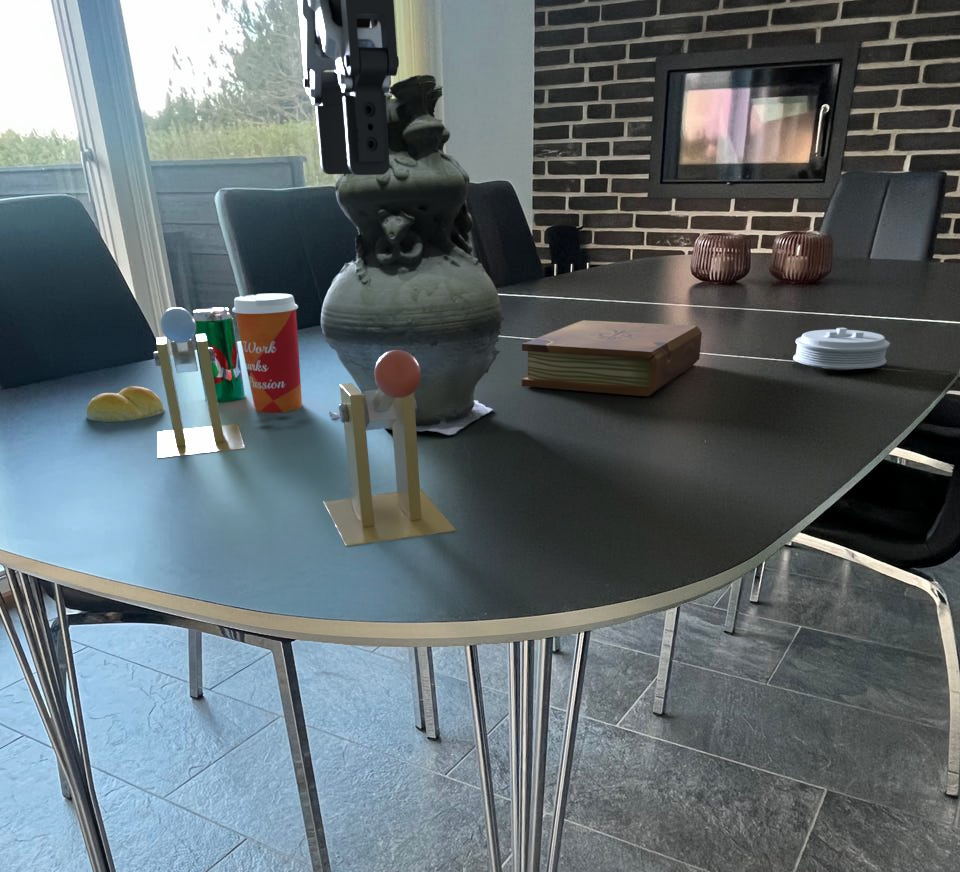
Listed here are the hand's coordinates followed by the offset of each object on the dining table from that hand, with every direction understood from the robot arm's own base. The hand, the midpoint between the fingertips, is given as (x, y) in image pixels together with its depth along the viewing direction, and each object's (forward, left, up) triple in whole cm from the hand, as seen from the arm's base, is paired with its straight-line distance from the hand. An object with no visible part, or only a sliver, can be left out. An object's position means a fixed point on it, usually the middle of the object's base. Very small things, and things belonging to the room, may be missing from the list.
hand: (353, 174), depth 52 cm
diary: (+46, +57, -27) cm, 78 cm away
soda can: (-8, +61, -27) cm, 67 cm away
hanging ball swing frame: (-12, +41, -27) cm, 50 cm away
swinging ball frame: (+2, +10, -27) cm, 28 cm away
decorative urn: (+14, +46, -27) cm, 55 cm away
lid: (+78, +49, -27) cm, 96 cm away
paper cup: (-2, +53, -27) cm, 59 cm away
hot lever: (+2, +5, -16) cm, 17 cm away
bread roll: (-20, +58, -27) cm, 67 cm away
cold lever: (-12, +36, -16) cm, 41 cm away
